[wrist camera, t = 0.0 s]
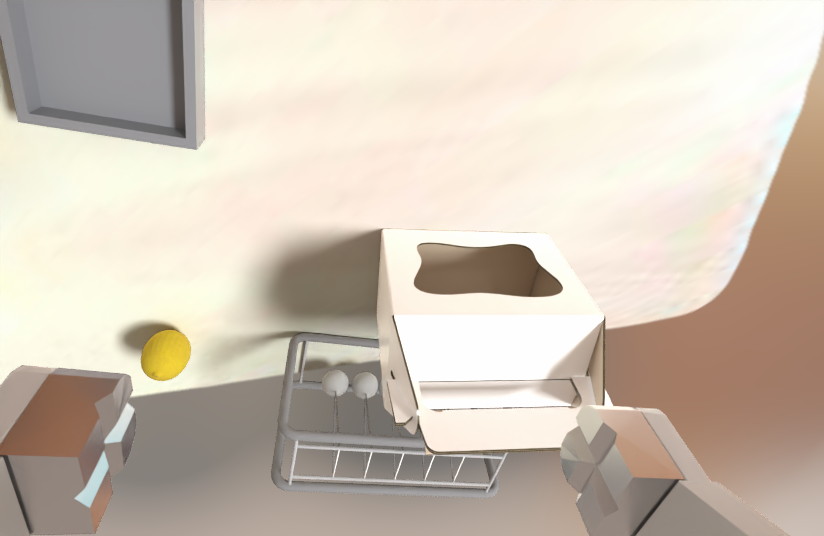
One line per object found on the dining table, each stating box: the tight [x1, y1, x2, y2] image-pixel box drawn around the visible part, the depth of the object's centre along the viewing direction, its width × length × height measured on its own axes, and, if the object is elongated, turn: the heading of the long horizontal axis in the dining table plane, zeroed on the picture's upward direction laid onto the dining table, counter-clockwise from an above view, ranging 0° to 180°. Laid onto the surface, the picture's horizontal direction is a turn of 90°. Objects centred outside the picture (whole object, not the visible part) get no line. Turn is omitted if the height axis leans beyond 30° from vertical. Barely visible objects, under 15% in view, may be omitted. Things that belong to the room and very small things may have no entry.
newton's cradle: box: [271, 333, 512, 498], centre depth 67 cm, size 30×10×18 cm, turn 77°
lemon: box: [141, 330, 191, 381], centre depth 63 cm, size 6×6×8 cm
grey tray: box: [0, 0, 205, 150], centre depth 46 cm, size 16×16×4 cm
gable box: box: [377, 229, 613, 455], centre depth 55 cm, size 22×13×28 cm, turn 85°
